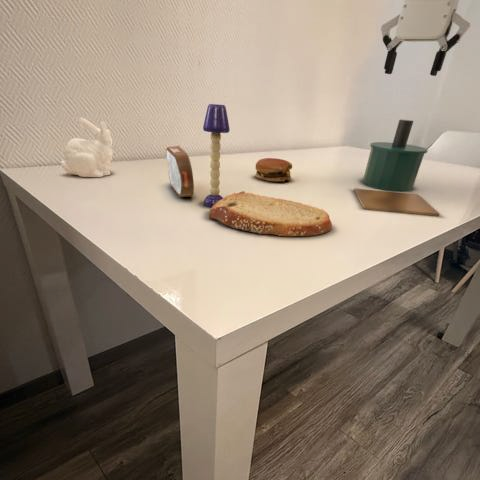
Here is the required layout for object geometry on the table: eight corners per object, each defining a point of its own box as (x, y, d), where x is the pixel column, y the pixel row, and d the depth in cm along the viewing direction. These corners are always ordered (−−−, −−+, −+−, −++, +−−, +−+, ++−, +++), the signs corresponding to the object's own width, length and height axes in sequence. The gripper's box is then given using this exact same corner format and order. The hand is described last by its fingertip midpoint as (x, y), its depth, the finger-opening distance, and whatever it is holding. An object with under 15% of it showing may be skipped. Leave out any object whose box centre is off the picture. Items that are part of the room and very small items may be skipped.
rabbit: (115, 170, 84) (107, 115, 77) (121, 179, 78) (112, 119, 71) (63, 171, 80) (49, 113, 73) (63, 181, 73) (48, 118, 66)
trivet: (417, 196, 80) (417, 194, 79) (438, 216, 67) (439, 213, 67) (353, 190, 81) (354, 188, 80) (363, 209, 69) (364, 206, 68)
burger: (255, 173, 90) (257, 154, 87) (289, 176, 90) (292, 157, 87) (253, 182, 82) (255, 161, 79) (291, 185, 82) (294, 164, 79)
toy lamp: (203, 200, 68) (202, 102, 58) (226, 200, 68) (229, 104, 58) (203, 207, 64) (202, 104, 54) (228, 208, 64) (231, 106, 54)
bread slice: (340, 230, 57) (345, 209, 55) (254, 248, 49) (256, 224, 47) (277, 201, 69) (279, 183, 67) (200, 212, 61) (199, 191, 59)
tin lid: (416, 149, 88) (426, 120, 84) (433, 158, 77) (445, 125, 73) (365, 145, 89) (372, 116, 85) (374, 154, 78) (383, 120, 74)
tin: (195, 202, 66) (194, 155, 61) (179, 202, 65) (177, 155, 60) (180, 183, 78) (178, 142, 73) (166, 183, 77) (163, 142, 72)
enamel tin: (405, 181, 92) (416, 147, 87) (418, 193, 82) (431, 155, 77) (359, 177, 93) (368, 143, 88) (367, 188, 83) (377, 151, 78)
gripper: (494, -36, 62) (455, 77, 72) (400, -27, 70) (377, 74, 80) (490, -48, 57) (448, 75, 67) (389, -36, 65) (366, 72, 75)
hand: (409, 74), depth 74 cm, fingers open, 9 cm apart
